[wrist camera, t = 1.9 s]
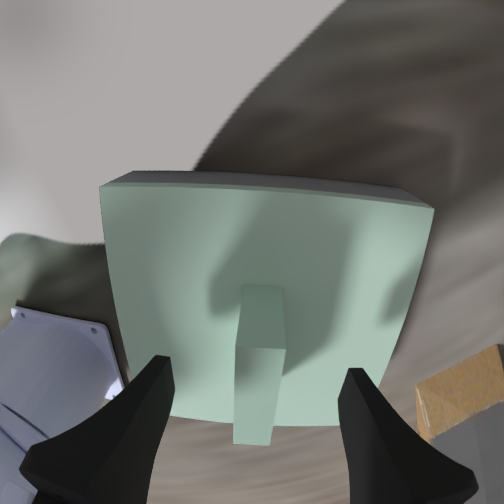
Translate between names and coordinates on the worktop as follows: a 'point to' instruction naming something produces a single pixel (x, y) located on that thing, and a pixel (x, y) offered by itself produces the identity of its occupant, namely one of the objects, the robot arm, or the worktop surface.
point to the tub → (267, 182)
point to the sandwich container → (468, 419)
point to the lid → (260, 294)
